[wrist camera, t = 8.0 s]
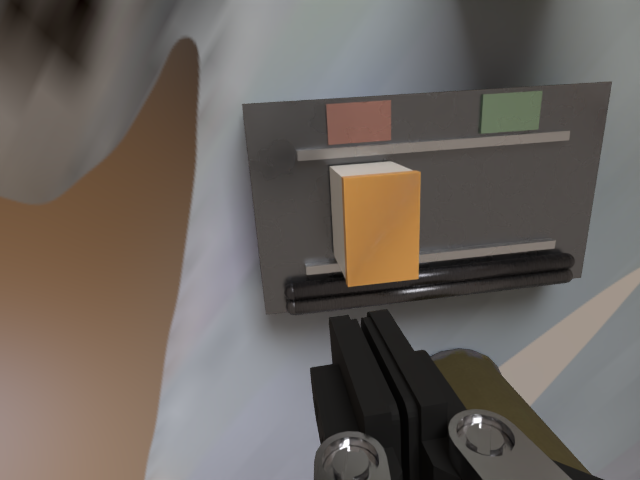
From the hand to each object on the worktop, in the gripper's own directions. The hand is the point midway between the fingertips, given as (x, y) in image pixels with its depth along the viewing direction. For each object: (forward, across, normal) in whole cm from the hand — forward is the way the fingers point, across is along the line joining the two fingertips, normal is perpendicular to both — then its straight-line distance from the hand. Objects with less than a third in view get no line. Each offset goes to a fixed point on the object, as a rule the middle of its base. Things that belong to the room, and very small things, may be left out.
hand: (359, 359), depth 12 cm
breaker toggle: (+16, -4, 0) cm, 16 cm away
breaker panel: (+20, -9, 0) cm, 22 cm away
